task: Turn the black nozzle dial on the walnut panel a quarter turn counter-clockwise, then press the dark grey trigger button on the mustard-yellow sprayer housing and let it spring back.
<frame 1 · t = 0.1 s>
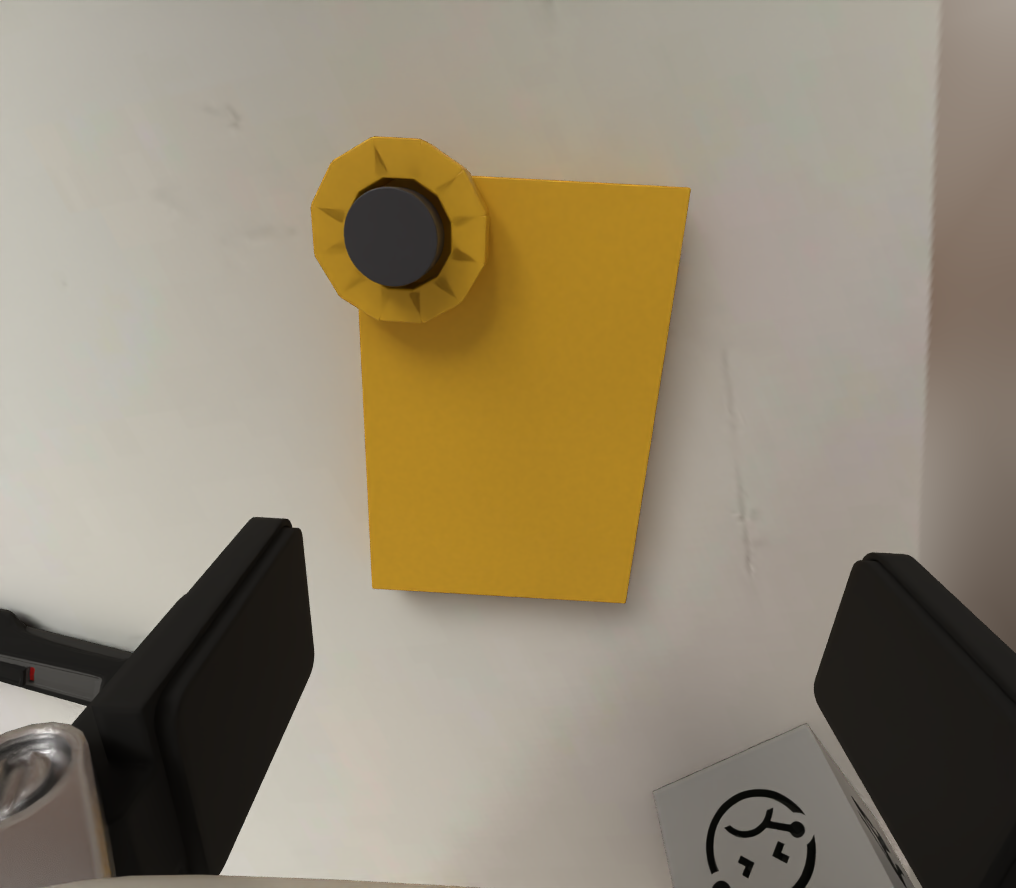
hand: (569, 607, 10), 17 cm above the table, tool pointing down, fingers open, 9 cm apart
sprayer housing: (509, 400, 26), on the table
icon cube: (764, 803, 36), on the table
electric trimmer: (44, 634, 33), on the table
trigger: (396, 236, 19), point 4 cm above the table, slide at 0.1 cm
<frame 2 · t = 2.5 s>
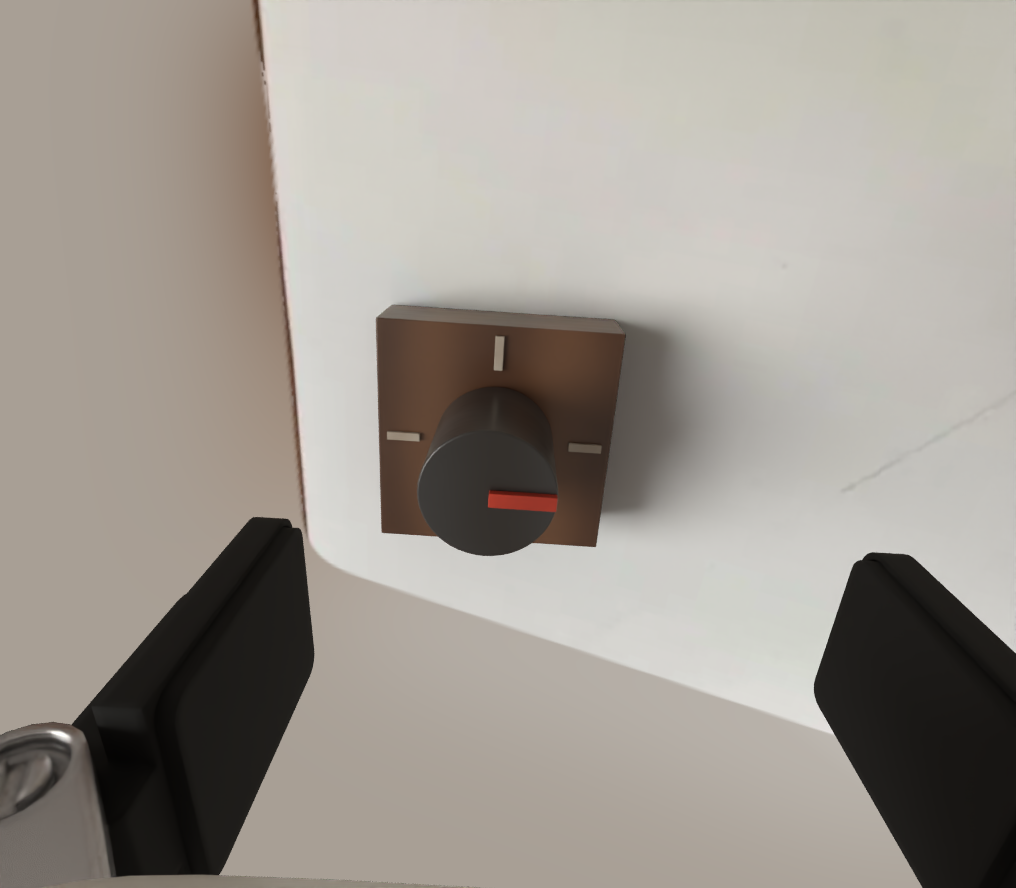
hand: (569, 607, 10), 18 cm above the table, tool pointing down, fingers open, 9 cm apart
dial panel: (497, 417, 28), on the table
nozzle dial: (490, 468, 23), point 6 cm above the table, hinge at 0.0°
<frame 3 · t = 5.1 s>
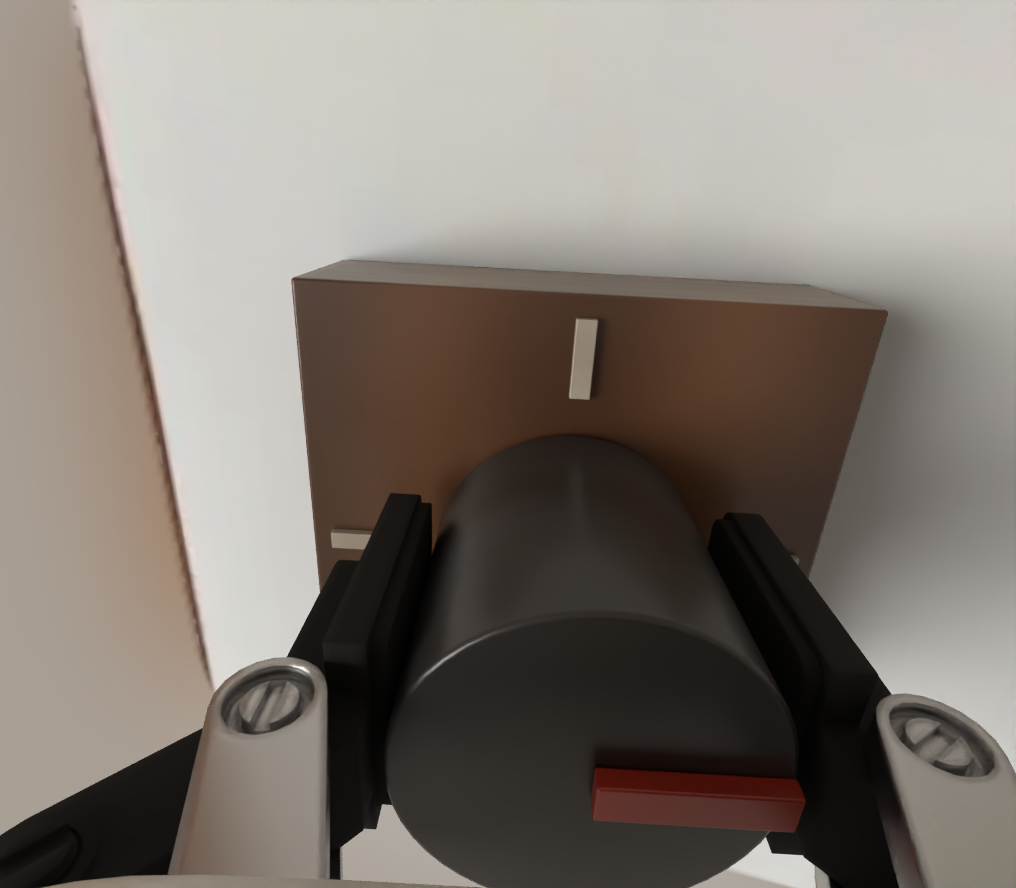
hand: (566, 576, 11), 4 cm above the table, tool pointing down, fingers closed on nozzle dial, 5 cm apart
dial panel: (556, 481, 14), on the table
nozzle dial: (573, 644, 9), point 6 cm above the table, hinge at 0.1°, touching gripper
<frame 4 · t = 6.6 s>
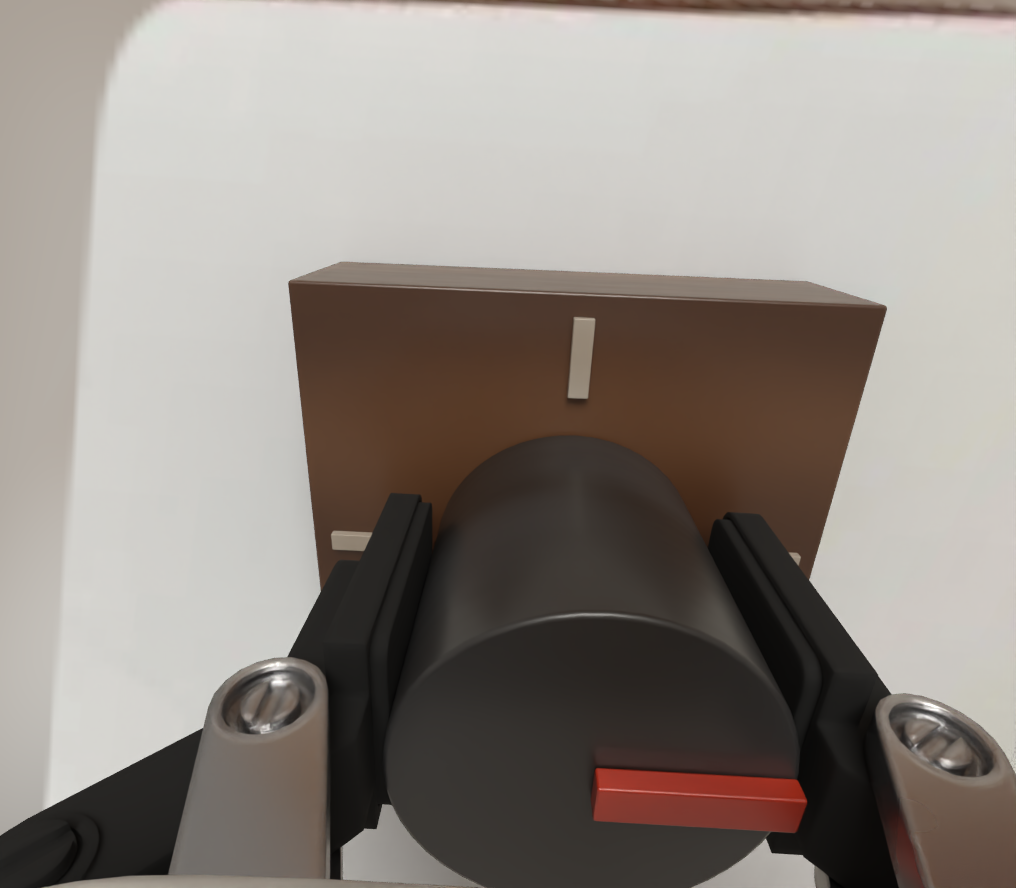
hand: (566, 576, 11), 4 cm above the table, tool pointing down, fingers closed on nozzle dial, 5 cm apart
dial panel: (556, 481, 14), on the table
nozzle dial: (573, 644, 9), point 6 cm above the table, hinge at 89.6°, touching gripper
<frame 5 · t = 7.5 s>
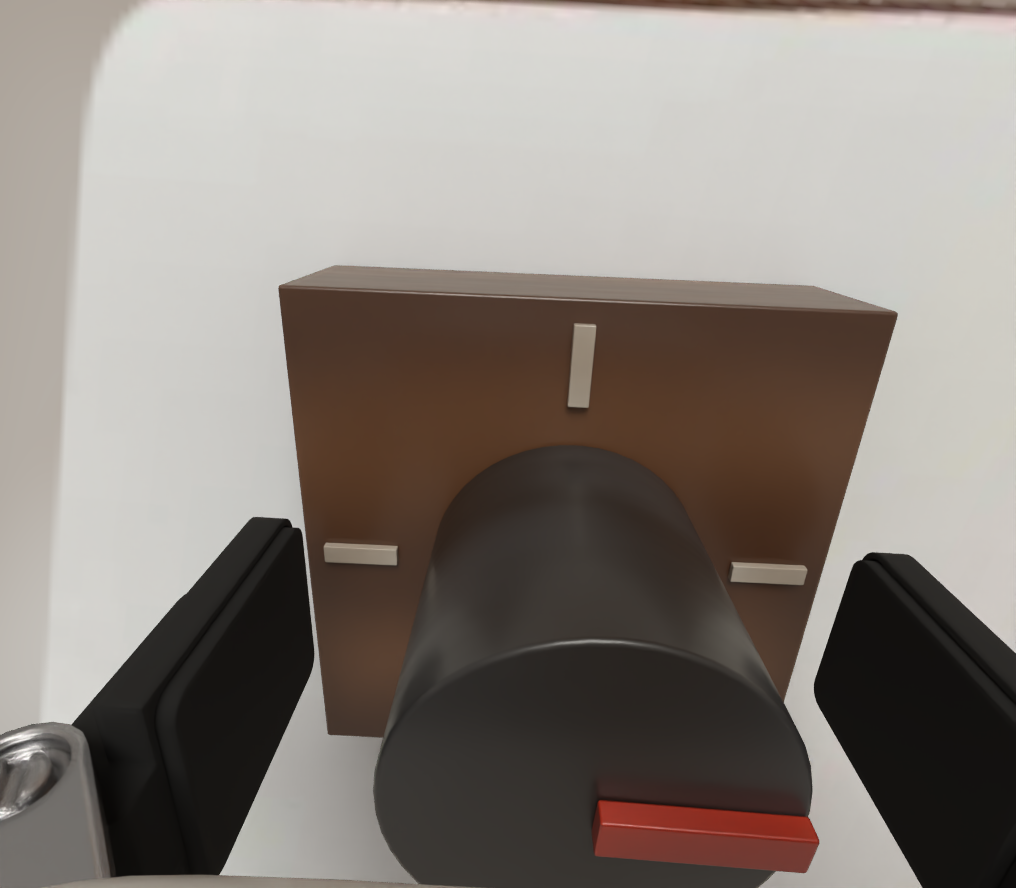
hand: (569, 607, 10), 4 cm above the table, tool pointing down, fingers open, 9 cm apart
dial panel: (555, 489, 14), on the table
nozzle dial: (574, 663, 9), point 6 cm above the table, hinge at 87.6°
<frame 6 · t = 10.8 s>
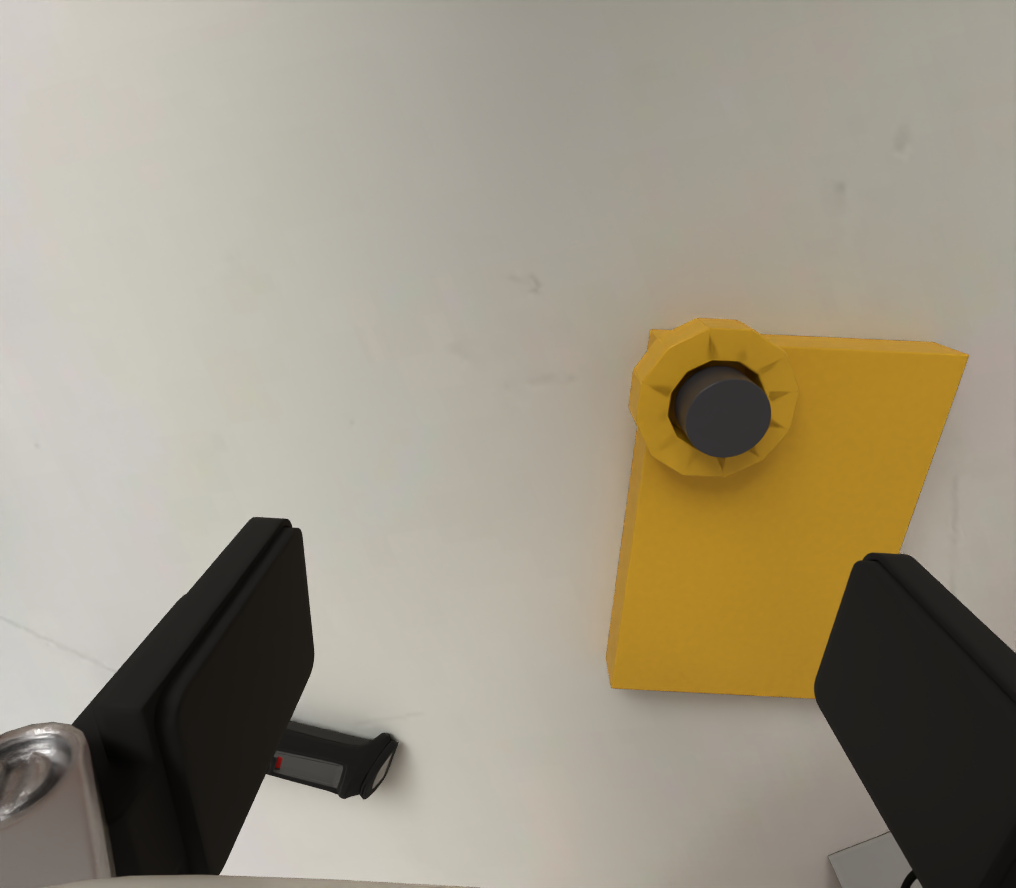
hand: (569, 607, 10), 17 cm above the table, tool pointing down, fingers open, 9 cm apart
sprayer housing: (749, 519, 28), on the table
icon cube: (931, 866, 38), on the table
electric trimmer: (273, 719, 35), on the table
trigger: (720, 411, 22), point 4 cm above the table, slide at 0.1 cm
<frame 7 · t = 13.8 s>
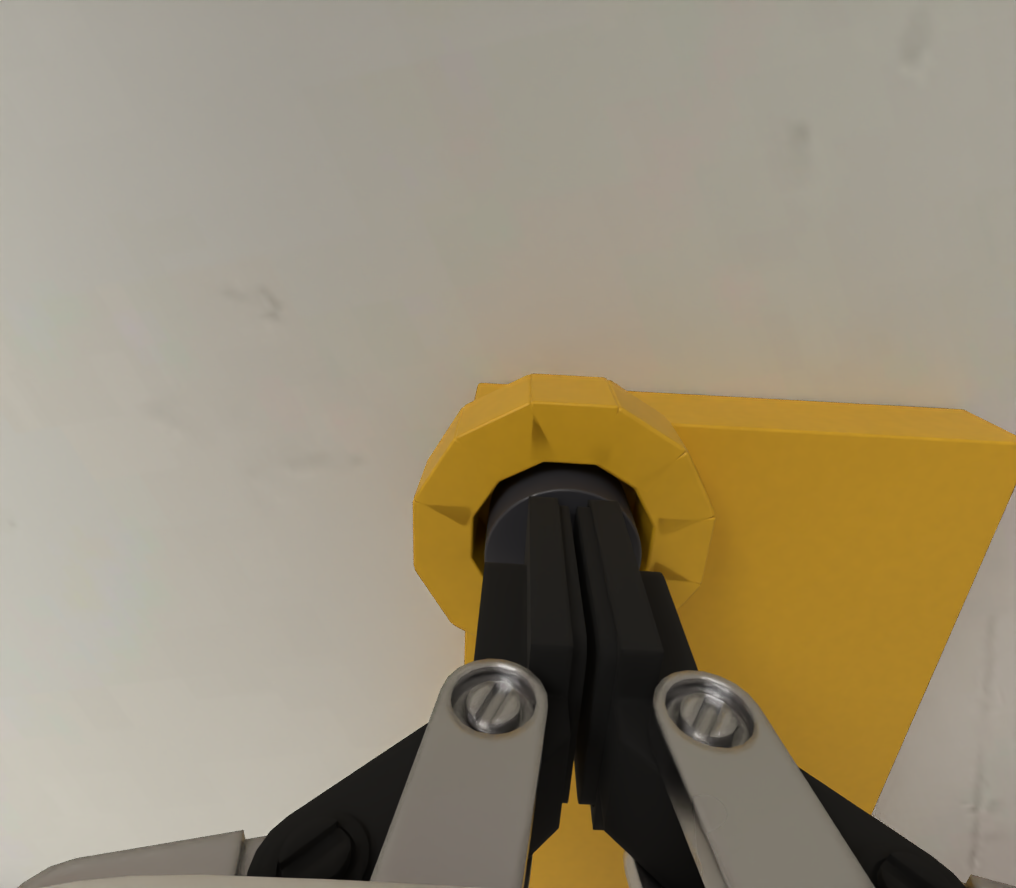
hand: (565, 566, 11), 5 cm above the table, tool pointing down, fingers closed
sprayer housing: (664, 673, 18), on the table
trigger: (560, 534, 12), point 4 cm above the table, slide at -0.7 cm, touching gripper
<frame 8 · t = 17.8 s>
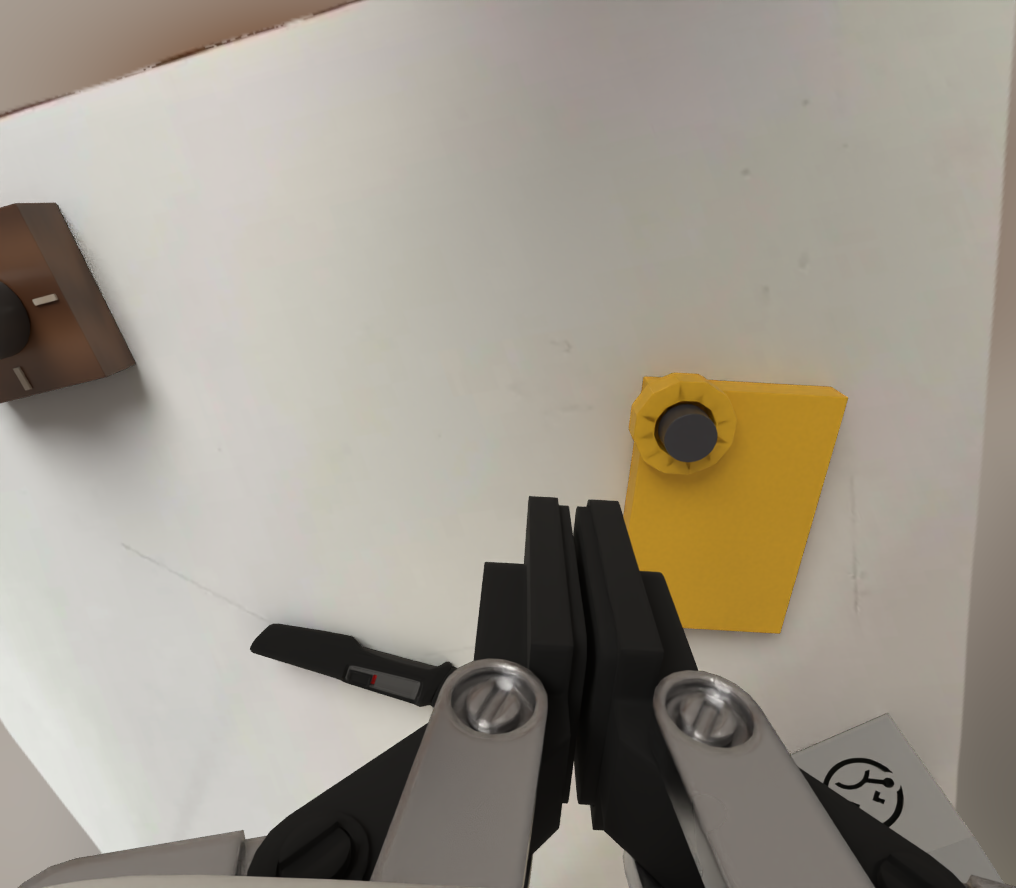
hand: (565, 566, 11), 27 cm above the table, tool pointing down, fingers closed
dial panel: (27, 306, 37), on the table
sprayer housing: (711, 505, 41), on the table
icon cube: (853, 770, 51), on the table
electric trimmer: (365, 652, 47), on the table
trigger: (687, 432, 34), point 4 cm above the table, slide at 0.1 cm
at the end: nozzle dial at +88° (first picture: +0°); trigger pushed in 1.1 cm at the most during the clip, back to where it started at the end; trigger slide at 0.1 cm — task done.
